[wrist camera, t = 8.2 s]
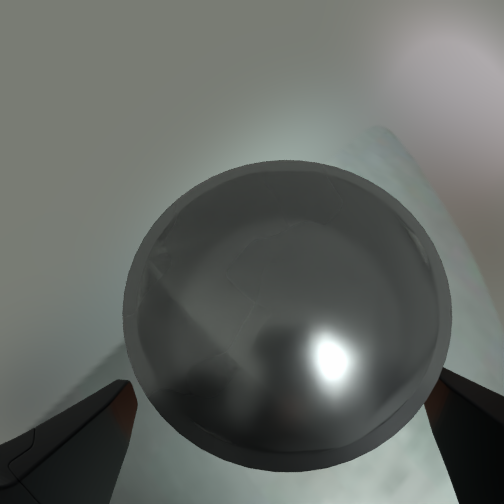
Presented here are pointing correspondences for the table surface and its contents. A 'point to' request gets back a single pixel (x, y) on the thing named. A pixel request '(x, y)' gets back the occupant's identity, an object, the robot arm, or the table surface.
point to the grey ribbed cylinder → (287, 316)
